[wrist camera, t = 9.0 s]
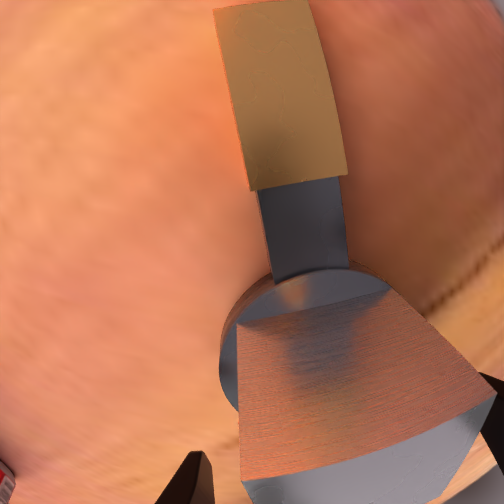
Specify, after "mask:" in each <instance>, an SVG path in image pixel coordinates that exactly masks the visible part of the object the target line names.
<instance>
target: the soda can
mask: <svg viewBox="0 0 504 504" xmlns="http://www.w3.org/2000/svg"><path fill="white" fill-rule="evenodd" d="M15 485H16V483H15V479H14V476H13V474H12V472H11V471H10V470H9V469H8V468H7V467H6V466H5V465H4V464H3V463H2V462H1V461H0V504H8V502H9V500H10V497H11V495H12V493H13V490H14V488H15Z"/></svg>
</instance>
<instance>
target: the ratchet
mask: <svg viewBox="0 0 504 504" xmlns="http://www.w3.org/2000/svg"><path fill="white" fill-rule="evenodd" d="M213 16H214V22H215V29H216V33H217V38H218V43H219V47H220V52H221V57H222V61H223V66H224V71H225V76H226V80H227V85H228V90H229V95H230V99H231V104H232V109H233V114H234V119H235V124H236V128H237V133H238V138H239V143H240V148H241V153H242V158H243V163H244V168H245V173H246V177H247V182H248V187H249V189H250V191H255V192H256V198H257V203H258V208H259V213H260V218H261V223H262V228H263V234H264V239H265V244H266V249H267V255H268V260H269V265H270V270H271V273H270V274H268V275H266V276H265V277H263V278H262V279H260V280H259V281H258V282H256V283H255V284H254V285H252V286H251V287H250V288H249V289H248V290H247V291H246V292H245V293H244V294H243V295H242V296H241V298H240V299H239V300H238V301H237V302H236V304H235V305H234V307H233V308H232V310H231V312H230V313H229V315H228V317H227V320H226V322H225V324H224V328H223V331H222V335H221V344H220V359H219V377H220V382H221V386H222V389H223V391H224V393H225V396H226V398H227V399H228V400H229V402H230V403H231V405H232V406H233V407H234V408H235V409H236V410H237V411H238V412H239V408H238V369H237V323H241V322H246V321H251V320H257V319H262V318H267V317H272V316H276V315H281V314H286V313H290V312H295V311H300V310H304V309H309V308H313V307H317V306H322V305H326V304H330V303H334V302H339V301H343V300H347V299H351V298H355V297H359V296H362V295H366V294H370V293H374V292H378V291H381V290H385V289H389V288H392V287H391V286H390V285H389V284H388V283H387V282H385V281H384V280H383V279H382V278H381V277H380V276H379V275H378V274H377V273H375V272H374V271H372V270H371V269H369V268H367V267H366V266H363V265H361V264H359V263H356V262H353V261H349V260H348V251H347V241H346V231H345V223H344V214H343V206H342V199H341V192H340V185H339V178H338V176H341V175H348V170H347V163H346V157H345V151H344V145H343V139H342V134H341V129H340V123H339V118H338V113H337V109H336V104H335V99H334V95H333V90H332V86H331V81H330V77H329V73H328V69H327V65H326V61H325V57H324V54H323V50H322V46H321V43H320V39H319V35H318V32H317V29H316V25H315V22H314V19H313V15H312V12H311V9H310V6H309V3H308V0H285V1H272V2H261V3H252V4H244V5H237V6H230V7H224V8H219V9H213ZM392 289H393V288H392ZM397 293H398V292H397ZM398 294H399V293H398ZM399 295H400V294H399ZM400 296H401V295H400Z"/></svg>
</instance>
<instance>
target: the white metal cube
mask: <svg viewBox="0 0 504 504" xmlns="http://www.w3.org/2000/svg"><path fill="white" fill-rule="evenodd" d="M237 369H238V408H239V440H240V468H241V482H242V484H243V486H244V487H245V489H246V491H247V493H248V495H249V496H250V498H251V500H252V502H253V504H425V503H427V502H429V501H431V500H433V499H435V498H437V497H439V496H440V495H441V494H442V493H443V491H444V490H445V488H446V487H447V485H448V484H449V482H450V481H451V479H452V478H453V476H454V475H455V473H456V472H457V470H458V469H459V467H460V465H461V464H462V462H463V460H464V459H465V457H466V455H467V454H468V452H469V450H470V448H471V447H472V445H473V443H474V441H475V439H476V437H477V435H478V434H479V432H480V430H481V428H482V426H483V424H484V422H485V420H486V417H487V415H488V413H489V411H490V409H491V407H492V404H493V402H494V400H495V397H496V395H497V392H496V391H495V390H494V389H493V388H492V387H491V386H490V384H489V383H488V382H487V381H486V380H485V379H484V378H483V377H482V376H481V375H480V374H479V373H478V372H477V371H476V369H475V368H474V367H473V366H472V365H471V364H470V363H469V362H468V361H467V360H466V359H465V358H464V357H463V356H462V355H461V354H460V353H459V352H458V351H457V350H456V349H455V348H454V347H453V346H452V345H451V344H450V343H449V342H448V341H447V340H446V339H445V338H444V337H443V336H442V335H441V334H440V333H439V332H438V331H437V330H436V329H435V328H434V327H433V326H432V325H431V324H430V323H429V322H428V321H427V320H426V319H425V318H424V317H423V316H422V315H420V314H419V313H418V312H417V311H416V310H415V309H414V308H413V307H412V306H411V305H410V304H409V303H408V302H407V301H406V300H404V299H403V298H402V297H401V296H400V295H399V294H398V293H397V292H396V291H395V290H394V289H392V288H389V289H385V290H381V291H378V292H374V293H370V294H366V295H362V296H359V297H355V298H351V299H347V300H343V301H339V302H334V303H330V304H326V305H322V306H317V307H313V308H309V309H304V310H300V311H295V312H290V313H286V314H281V315H276V316H272V317H267V318H262V319H257V320H251V321H246V322H241V323H237Z"/></svg>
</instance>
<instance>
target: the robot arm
mask: <svg viewBox="0 0 504 504" xmlns="http://www.w3.org/2000/svg"><path fill="white" fill-rule="evenodd" d="M478 373H479V374H480V375H481V376H482V377H483V378H484V379H485V380H486V381H487V382H488V383H489V384H490V386H491V387H492V388H493V389H494V390H495V391H496V392H497V395H496V397H495V400H494V402H493V404H492V407H491V409H490V411H489V413H488V415H487V417H486V420H485V422H484V424H483V426H482V428H481V430H480V432H481V434H482V436H483V438H484V439H485V441H486V443H487V445H488V447H489V448H490V450H491V452H492V454H493V456H494V458H495V460H496V461H497V463H498V465H499V467H500V469H501V471H502V473H503V475H504V381H502V380H499V379H497V378H494V377H492V376H489V375H486V374H484V373H481V372H478ZM155 504H215V498H214V487H213V474H212V466H211V463H210V462H209V460H208V458H207V456H206V455H205V453H204V452H203V451H191V452H189V453H188V455H187V456H186V458H185V459H184V461H183V463H182V464H181V466H180V467H179V469H178V470H177V472H176V473H175V475H174V476H173V478H172V479H171V481H170V482H169V483H168V485H167V486H166V488H165V489H164V491H163V492H162V494H161V495H160V497H159V498H158V500H157V501H156V502H155Z"/></svg>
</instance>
